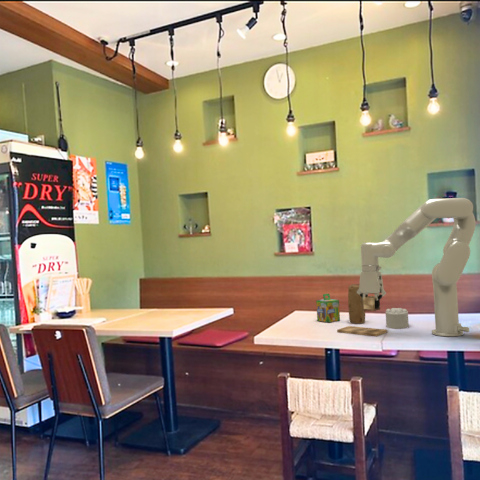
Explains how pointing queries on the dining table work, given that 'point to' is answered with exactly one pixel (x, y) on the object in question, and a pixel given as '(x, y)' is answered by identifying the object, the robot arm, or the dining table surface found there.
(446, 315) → the robot arm
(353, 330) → the board
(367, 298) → the block
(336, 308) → the chalk box
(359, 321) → the block
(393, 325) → the lumpy-topped squat cylinder
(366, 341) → the dining table surface
